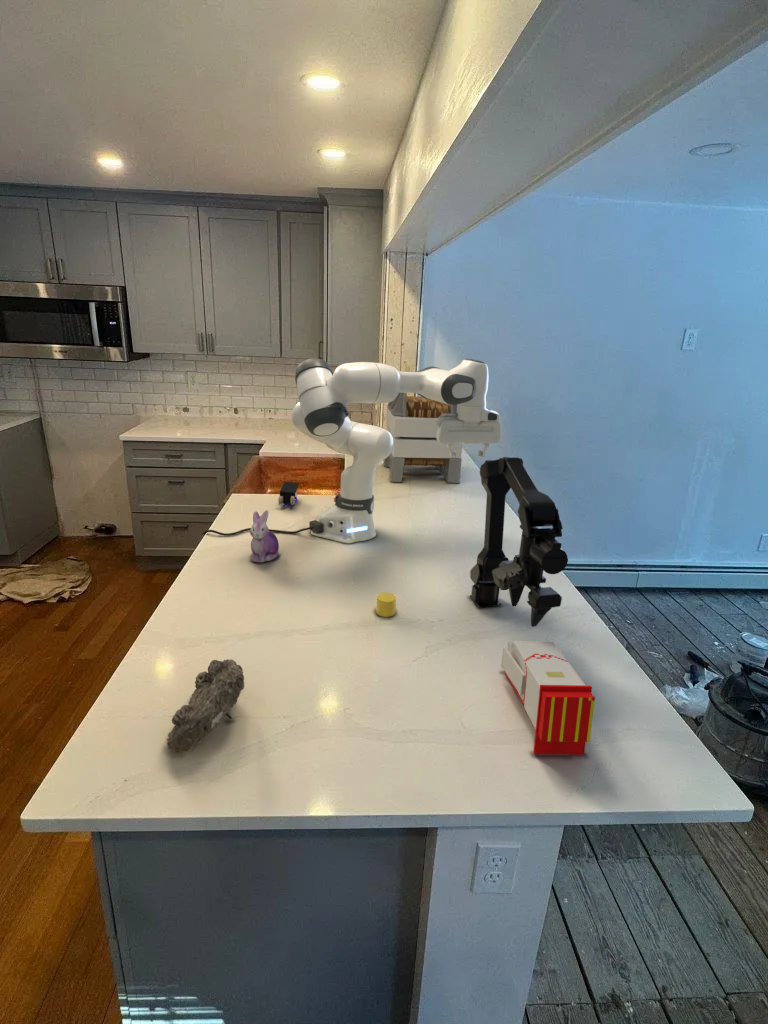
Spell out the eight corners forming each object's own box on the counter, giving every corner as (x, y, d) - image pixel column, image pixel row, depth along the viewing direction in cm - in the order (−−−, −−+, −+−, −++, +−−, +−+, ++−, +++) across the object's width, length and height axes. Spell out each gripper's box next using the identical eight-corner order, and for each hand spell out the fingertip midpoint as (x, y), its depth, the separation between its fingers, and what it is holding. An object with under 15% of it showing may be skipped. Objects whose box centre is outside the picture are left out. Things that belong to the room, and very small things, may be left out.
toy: (549, 624, 127) (604, 693, 98) (544, 678, 130) (596, 762, 100) (496, 622, 127) (535, 692, 97) (491, 677, 129) (528, 761, 100)
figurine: (254, 565, 170) (252, 519, 165) (245, 552, 179) (243, 508, 174) (284, 560, 175) (283, 515, 169) (274, 548, 183) (273, 504, 178)
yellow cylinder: (397, 616, 146) (397, 601, 145) (377, 617, 146) (378, 602, 144) (393, 606, 151) (394, 591, 150) (374, 607, 150) (375, 592, 149)
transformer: (382, 463, 289) (386, 382, 275) (445, 464, 293) (451, 384, 279) (390, 482, 257) (394, 392, 243) (460, 483, 261) (468, 394, 247)
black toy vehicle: (295, 514, 218) (300, 497, 231) (295, 496, 214) (299, 480, 228) (278, 513, 217) (283, 497, 231) (277, 495, 214) (283, 480, 227)
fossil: (192, 660, 117) (244, 628, 112) (224, 691, 120) (276, 661, 115) (142, 746, 98) (202, 712, 93) (182, 779, 101) (242, 748, 96)
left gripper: (440, 415, 170) (437, 459, 175) (505, 415, 174) (500, 459, 178) (435, 411, 176) (432, 454, 181) (498, 411, 179) (493, 453, 184)
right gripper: (481, 540, 132) (474, 599, 138) (520, 575, 115) (511, 641, 121) (524, 537, 135) (516, 595, 141) (568, 571, 118) (557, 635, 124)
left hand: (466, 456), depth 180 cm, fingers open, 8 cm apart
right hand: (523, 615), depth 131 cm, fingers open, 9 cm apart
